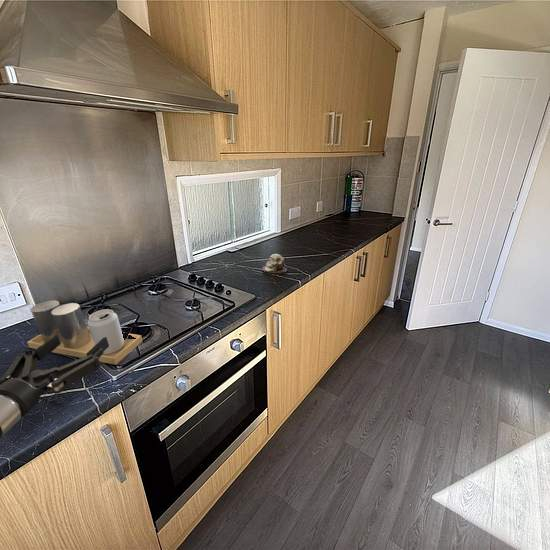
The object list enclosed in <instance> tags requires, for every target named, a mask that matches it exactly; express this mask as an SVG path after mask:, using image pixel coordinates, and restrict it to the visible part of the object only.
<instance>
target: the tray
mask: <svg viewBox="0 0 550 550" xmlns="http://www.w3.org/2000/svg"><path fill="white" fill-rule="evenodd" d="M86 327H87V329H88V332H89V335H90V341H89V342H88V343H87V344H86V345H84V346H82V347H80V348H77V349H68V348H64V345H63V343H61V344H60V345H59V346H58V347H57V348H55V349H54V350H53V351H52V352H51V353H53V354H54V353H55V354H59V355H65V356H70V357H75V358H79V359H81V358H83V357H86V356H87V354H86V353H88V352H89V351H90V350H91V349H92V348H93V347H94V346H95V344H94V341H93V338H92V335H91V332H90V329H89V326H86ZM128 335H131V336H132V337H134V338H136V339H125V340H124V341H125V344H124V346H123V347H122V348H121V349H120V350H119V351H118V352H116V353H114V354H110V355H102V356H101V357H100V358H99V362H100V363H104V364H110V365H115V366H117V365H119V364H120V362H121V361H123V360H124V359H126V358H127V357H128V355H129V354H131V353H132V352H134V350H135V349H136V348H137V347H139V346H140V345H141V344H143V337H142V334H141V335H140V334H134V333H129V334H128ZM26 343H27V345H28V347H29V348H31V349H34V350H35V349H37V348H38V347H39V346H41V345H43V344H44V341H43V339H42V337H41V334H40V333H39V335H36V336H35V337H33V338H31V339H30V340H28V341H27V342H26Z"/></svg>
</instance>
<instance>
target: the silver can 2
mask: <svg viewBox="0 0 550 550" xmlns="http://www.w3.org/2000/svg"><path fill="white" fill-rule="evenodd" d="M51 314H52V317H53V319H54V322H55V324H56V327H57V330H58V332H59V335H60V337H61V340H62V343H63V345H64V348H68V349H77V348H80V347H82V346H84V345H86V344H87V343H88V342H89V341H90V335H89V332H88V329H87V327H88V326H87V324H86V321H85V318H84V314H83V312H82V309H81V306H80V304H79V303H75V302H69V303H64V304H60V306H59V307H57V308H55V309H53V310H52V312H51Z"/></svg>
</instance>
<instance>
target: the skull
mask: <svg viewBox="0 0 550 550" xmlns="http://www.w3.org/2000/svg"><path fill="white" fill-rule="evenodd" d="M268 259H269V260H267V261H266V264H265V265H264V266H263V267H262V268H261V269H262V272H263V271H264V272H265V273H269V274H275V275H276V274H282V273H285V272H287V271H288V268H287V267H286V266H285V258H284V257H283V256H282V255H280V254H278V253H274V254H271V255H270V256H269V258H268Z"/></svg>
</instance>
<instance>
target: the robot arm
mask: <svg viewBox="0 0 550 550" xmlns="http://www.w3.org/2000/svg"><path fill="white" fill-rule="evenodd" d="M60 344H61V343H60V340H59V338H58V335H55V336H53V337H52V338H51V339H49V340H48V341H47V342H45V343H44V344H43V345H41V346H39V347H38V348H37V349H34V350H32V348H31V349H26V350H25V351H24V352H25V353H23V352H21V353H18V354H17V355H16V356H15V358H14V360H12V362H11V364H10V366H9V367H8V369H6V372H5V373H3V375H2V376H1V377H0V439H2V437H3V436H4V435H5V434H7V432H9V431H10V430H11V429H12V428H13V427H14V426H15V425H16V424H17V423H18V422H20V421H21V418H24V417H25V416H26V415H27V414H28V413H30V412H31V411H32V409H34V407H36V406H37V404H38V403H39V401H40V398H41V397H42V395H43V394H45V393H47V392H48V391H53V392H54V394H55V395H59V394H60V393H62V392H63V391H64V390H65V389H67V387H69V386H72V385H73V384H74V383H76V382H77V381H79V380H80V379H83V378H85V377H86V376H87V375H89V374H91V373H93V372H94V371H96V370H98V369H100V367H101V362H99V358H100V357H101V356H102V355H103V353H104V351H105V350H106V349H107V348H108V347H109V343H108V340H107V337H104V338H103V339H101V340H100V341H99V342H98V343H97V344H96V345H95V346H94V347H93V348H92V349H91V350H90V351H89V352H88V353H86V354H87V356H86V357H83V358H79V359H76V360H74V361H71V362H68V363H66V364H64V365H62V366H59V367H57V366H55V367H51V368H49V369H40V368H38V369H36V365H37V361H42V360H43V359H44V358H45V357H47V356H48V355H50V354H51V353H53V352H52V351H53V350H54V349H55V348H57V347H58V346H59V345H60ZM53 374H54V375H55V378H54V376H53Z"/></svg>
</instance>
